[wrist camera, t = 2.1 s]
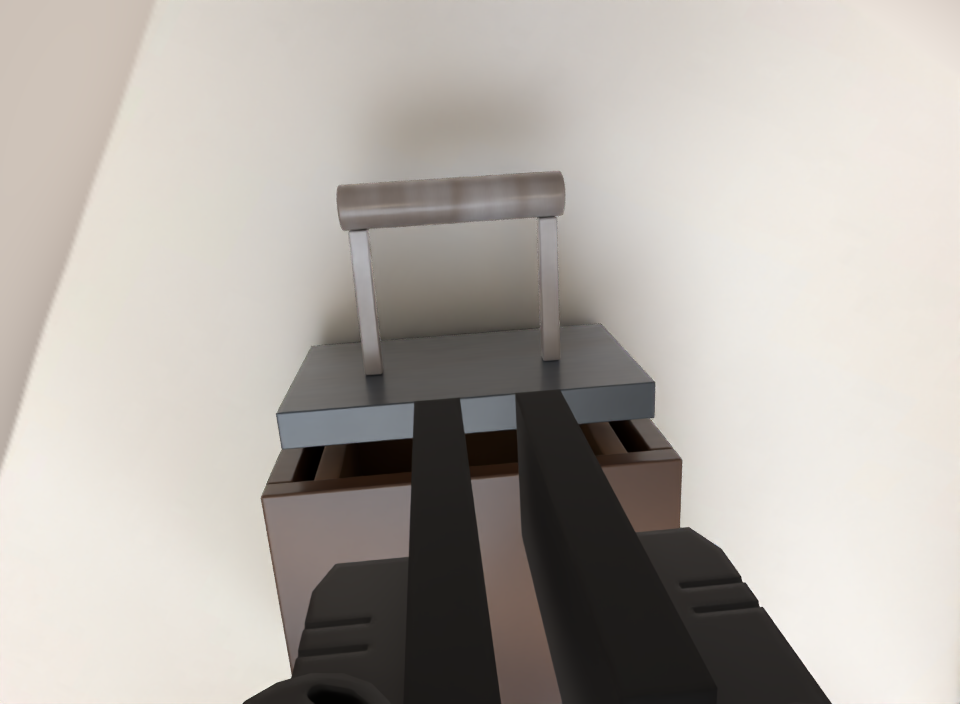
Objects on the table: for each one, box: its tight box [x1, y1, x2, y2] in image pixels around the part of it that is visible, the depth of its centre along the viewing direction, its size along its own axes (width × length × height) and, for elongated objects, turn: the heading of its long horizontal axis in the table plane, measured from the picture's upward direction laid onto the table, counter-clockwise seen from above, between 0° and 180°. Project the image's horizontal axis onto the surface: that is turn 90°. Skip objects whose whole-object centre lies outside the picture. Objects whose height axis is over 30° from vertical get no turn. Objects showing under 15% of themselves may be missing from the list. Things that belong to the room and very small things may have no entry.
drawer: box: [276, 171, 655, 480], centre depth 25 cm, size 20×11×7 cm, turn 3°
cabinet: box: [261, 418, 682, 704], centre depth 27 cm, size 15×13×9 cm
